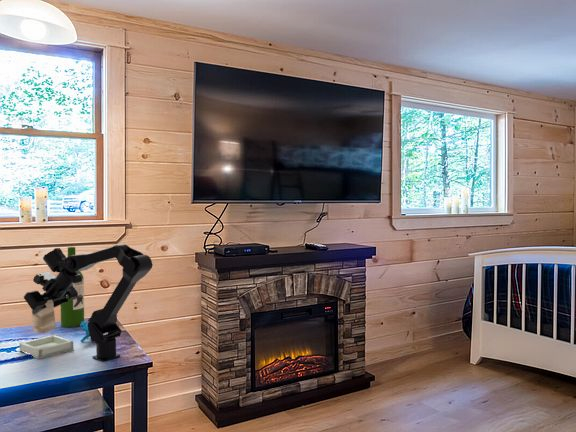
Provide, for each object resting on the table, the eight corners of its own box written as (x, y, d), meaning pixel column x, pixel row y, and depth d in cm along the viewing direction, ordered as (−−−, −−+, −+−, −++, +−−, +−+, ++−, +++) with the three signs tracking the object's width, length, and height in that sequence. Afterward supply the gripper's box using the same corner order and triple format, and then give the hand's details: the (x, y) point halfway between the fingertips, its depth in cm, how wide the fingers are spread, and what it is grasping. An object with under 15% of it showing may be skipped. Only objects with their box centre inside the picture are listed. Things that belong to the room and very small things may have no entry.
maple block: (55, 328, 168) (52, 292, 167) (43, 333, 164) (39, 296, 163) (46, 327, 170) (43, 292, 169) (33, 331, 166) (30, 295, 165)
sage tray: (73, 349, 165) (73, 341, 165) (38, 359, 155) (38, 350, 155) (53, 343, 173) (53, 334, 173) (19, 351, 163) (19, 343, 163)
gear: (99, 340, 170) (79, 321, 170) (87, 353, 169) (67, 333, 169) (107, 336, 181) (88, 318, 181) (95, 347, 180) (76, 329, 180)
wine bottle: (73, 328, 192) (72, 248, 191) (56, 326, 195) (54, 248, 194) (89, 322, 201) (87, 246, 200) (72, 320, 204) (70, 245, 202)
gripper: (71, 261, 173) (49, 289, 178) (26, 268, 156) (3, 299, 160) (88, 284, 171) (65, 312, 175) (45, 293, 153) (21, 324, 158)
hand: (40, 311), depth 167 cm, fingers closed on maple block, 5 cm apart
